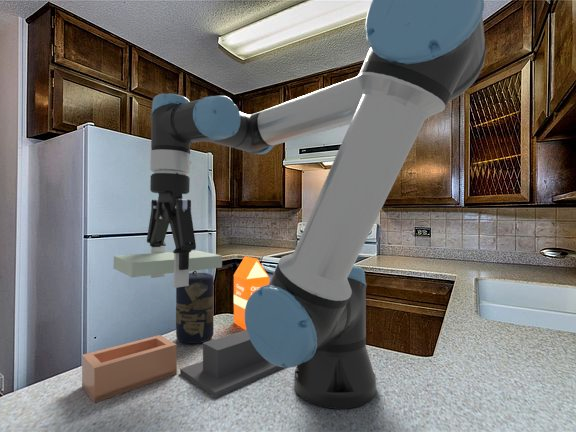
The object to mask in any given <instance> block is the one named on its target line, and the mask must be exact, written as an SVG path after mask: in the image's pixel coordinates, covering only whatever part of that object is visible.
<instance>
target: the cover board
mask: <svg viewBox="0 0 576 432" xmlns="http://www.w3.org/2000/svg"><path fill="white" fill-rule="evenodd" d="M222 267H223V255H222V254H221V255H220V254H218V253H217V254H216V253H212V252H207V251H201V250H196V249H195V250H191V252H189V272H194V271H201V270H202V271H203V270H210V269H212V270H213V269H219V268H222ZM113 269H114V270H115V271H118V272H120V273H121V274H124V275H126V276H128V277H130V278H137V277H148V276H151V275H158V274H164V275H166V274H174V253H173V251H167V252H166V251H165V253H151V252H150V253H141V254H140V253H139V254H138V253H137V254H124V255H123V254H121V255H113Z"/></svg>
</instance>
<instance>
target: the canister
mask: <svg viewBox="0 0 576 432" xmlns="http://www.w3.org/2000/svg"><path fill="white" fill-rule="evenodd" d="M214 280H215V279H214V276H213V275H212V274H211V273H207V272H198V270H194V271H191V272H189V286H184V287H177V288H175V291H176V292H175V297H176V299H175V336H176V337H175V338H176V340H177V341H179V342H181V343H184V344H198V343H204V342H207V341H208V340H209V339H211V338H212V337H213V335H214V319H215V317H214V305H215V303H214V299H215V296H214V293H215V292H214V291H215V290H214Z"/></svg>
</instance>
